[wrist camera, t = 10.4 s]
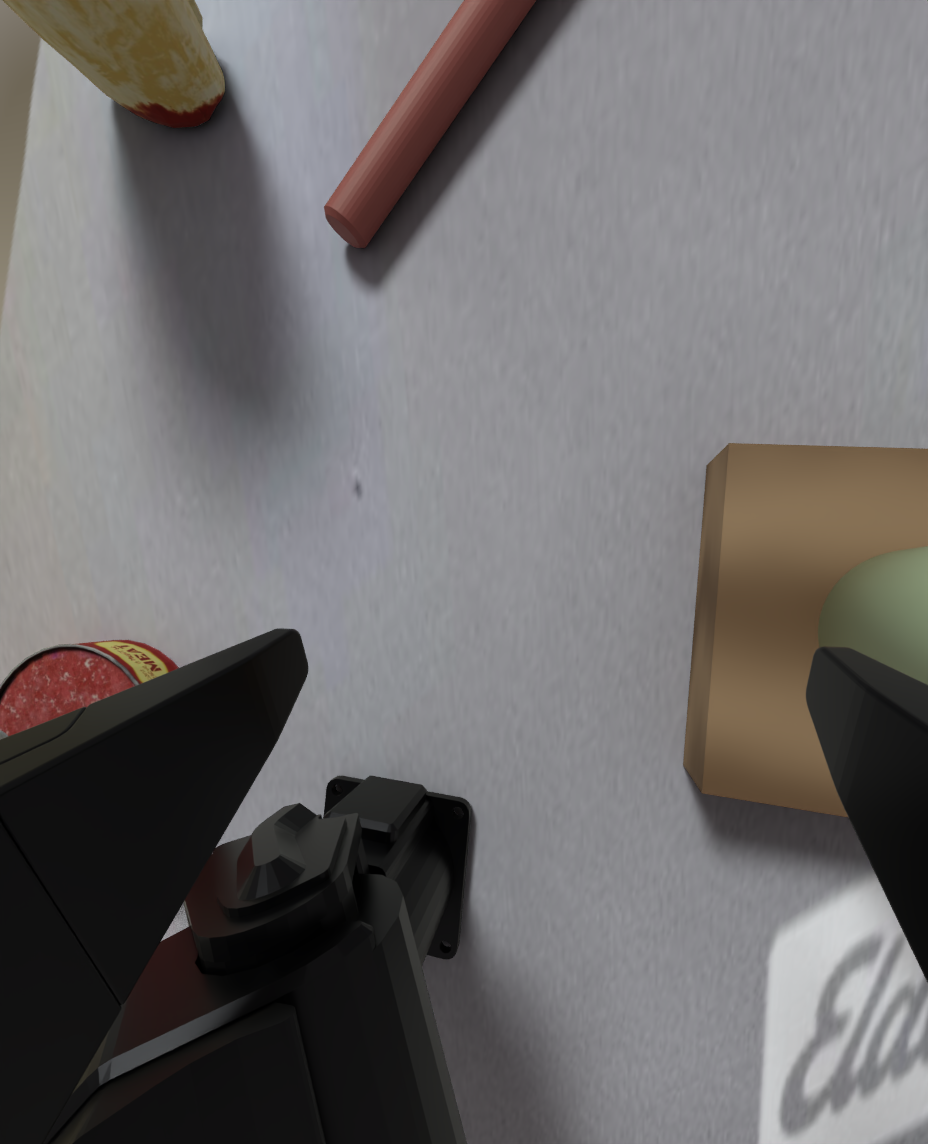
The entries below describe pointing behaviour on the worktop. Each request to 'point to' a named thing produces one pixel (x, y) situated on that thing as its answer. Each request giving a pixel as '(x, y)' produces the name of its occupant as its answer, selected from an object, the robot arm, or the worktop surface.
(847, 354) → the worktop surface
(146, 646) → the canned food
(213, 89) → the food model
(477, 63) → the red collared rod
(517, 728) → the worktop surface
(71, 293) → the worktop surface
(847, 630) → the green cylinder
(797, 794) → the walnut base
